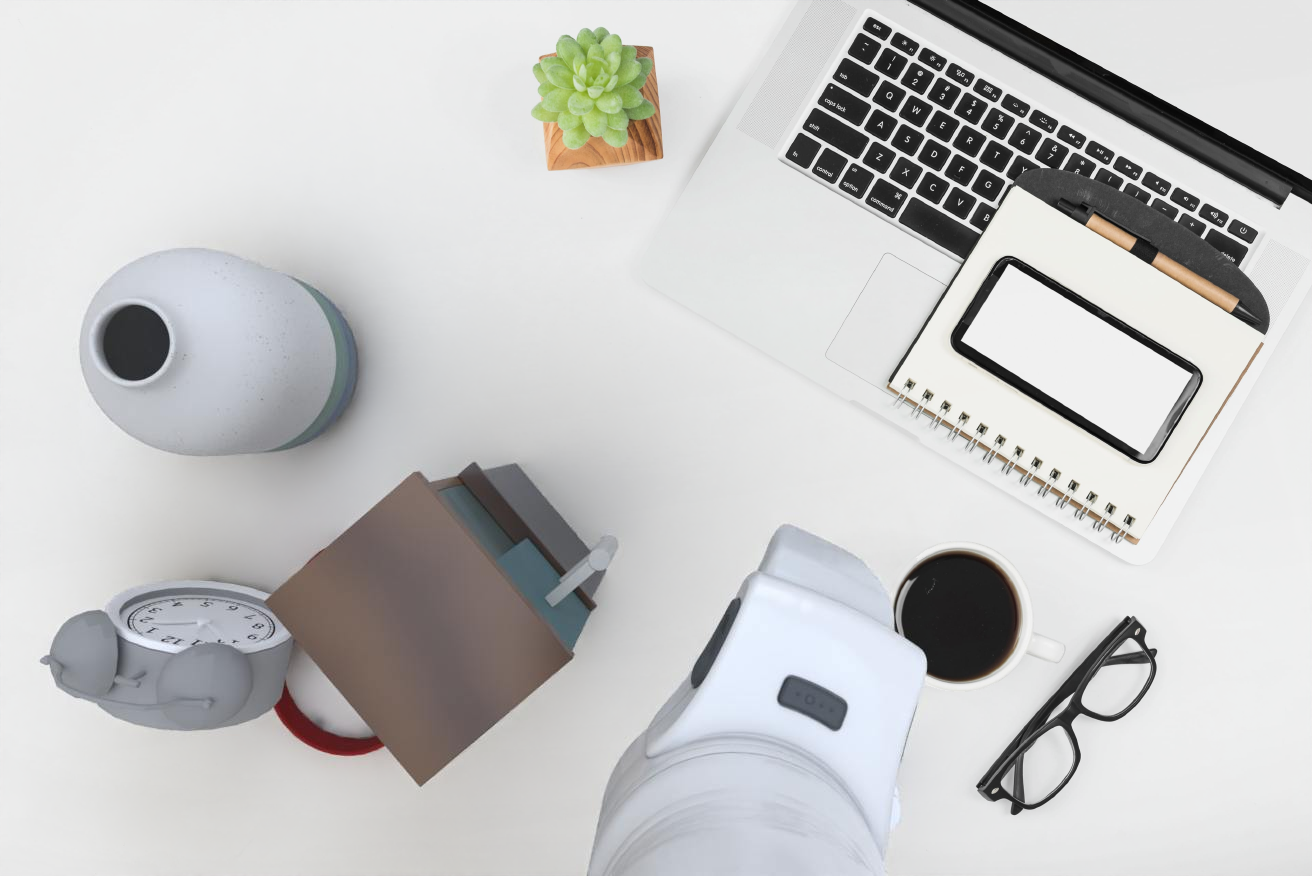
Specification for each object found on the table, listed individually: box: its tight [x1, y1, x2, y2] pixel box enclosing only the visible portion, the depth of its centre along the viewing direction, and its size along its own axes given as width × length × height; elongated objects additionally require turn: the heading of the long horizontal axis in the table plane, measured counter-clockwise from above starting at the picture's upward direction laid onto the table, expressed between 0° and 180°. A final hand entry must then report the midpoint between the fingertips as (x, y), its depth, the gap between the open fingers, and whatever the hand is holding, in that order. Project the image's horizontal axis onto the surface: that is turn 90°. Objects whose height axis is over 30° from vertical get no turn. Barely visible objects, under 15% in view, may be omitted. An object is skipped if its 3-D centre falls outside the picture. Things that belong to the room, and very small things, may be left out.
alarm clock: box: [39, 579, 295, 732], centre depth 72 cm, size 16×9×22 cm, turn 75°
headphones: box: [273, 548, 386, 757], centre depth 80 cm, size 15×7×20 cm
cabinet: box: [264, 461, 607, 788], centre depth 65 cm, size 12×14×35 cm
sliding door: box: [496, 534, 619, 652], centre depth 54 cm, size 6×7×12 cm
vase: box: [78, 247, 360, 457], centre depth 71 cm, size 17×17×24 cm
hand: (713, 706), depth 41 cm, fingers closed
